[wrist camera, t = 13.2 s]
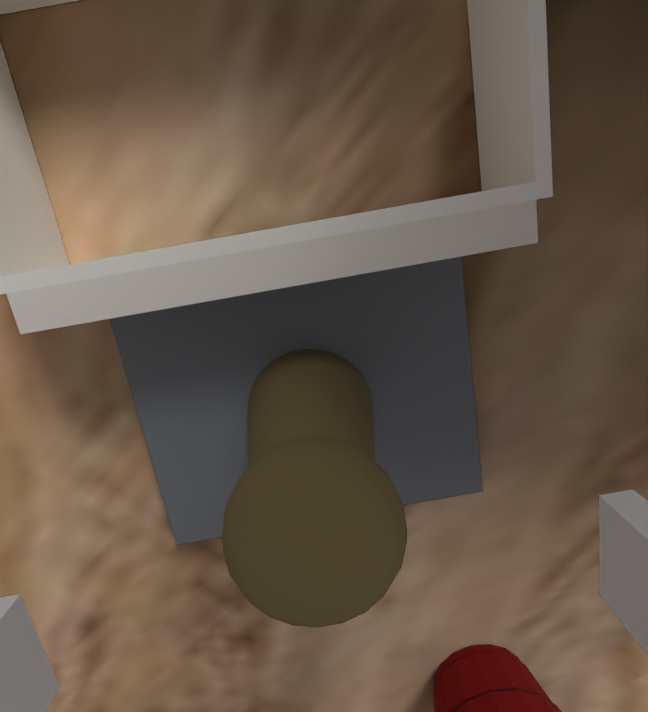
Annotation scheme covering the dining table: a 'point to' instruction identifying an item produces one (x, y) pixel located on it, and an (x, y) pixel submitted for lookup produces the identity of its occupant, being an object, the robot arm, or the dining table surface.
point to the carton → (305, 240)
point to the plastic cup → (488, 683)
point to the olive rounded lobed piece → (313, 496)
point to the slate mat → (297, 332)
